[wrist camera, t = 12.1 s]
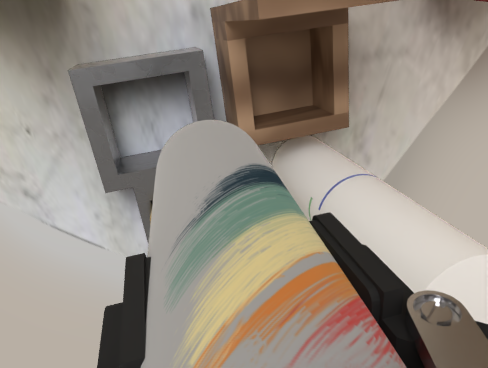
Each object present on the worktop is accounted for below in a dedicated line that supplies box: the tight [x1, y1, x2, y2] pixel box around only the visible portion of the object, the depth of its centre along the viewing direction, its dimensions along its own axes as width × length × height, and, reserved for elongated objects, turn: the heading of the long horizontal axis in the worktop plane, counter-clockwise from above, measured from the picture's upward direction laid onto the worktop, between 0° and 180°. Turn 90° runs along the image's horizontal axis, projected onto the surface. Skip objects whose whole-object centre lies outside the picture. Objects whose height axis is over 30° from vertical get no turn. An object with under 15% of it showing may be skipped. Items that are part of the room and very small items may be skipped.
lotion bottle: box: [141, 120, 406, 368], centre depth 11 cm, size 6×6×20 cm
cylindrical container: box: [272, 135, 488, 324], centre depth 33 cm, size 7×7×25 cm
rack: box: [210, 0, 397, 145], centre depth 32 cm, size 12×11×16 cm
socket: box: [68, 47, 214, 244], centre depth 37 cm, size 18×11×5 cm, turn 7°
